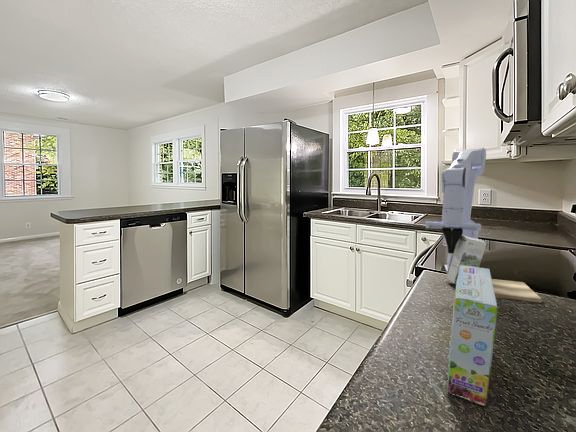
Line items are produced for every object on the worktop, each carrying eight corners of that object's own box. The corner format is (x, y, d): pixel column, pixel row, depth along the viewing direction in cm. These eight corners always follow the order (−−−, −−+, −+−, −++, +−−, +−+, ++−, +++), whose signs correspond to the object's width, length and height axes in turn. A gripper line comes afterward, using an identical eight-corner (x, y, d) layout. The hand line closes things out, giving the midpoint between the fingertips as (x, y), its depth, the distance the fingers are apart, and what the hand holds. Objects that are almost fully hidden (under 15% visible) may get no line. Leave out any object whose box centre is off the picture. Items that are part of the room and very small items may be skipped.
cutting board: (469, 279, 94) (469, 276, 94) (523, 285, 88) (523, 282, 88) (478, 295, 81) (478, 291, 81) (541, 302, 76) (542, 299, 76)
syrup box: (463, 282, 92) (476, 237, 90) (473, 288, 86) (487, 241, 84) (445, 278, 92) (457, 233, 90) (453, 284, 86) (467, 237, 84)
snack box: (491, 411, 40) (500, 306, 38) (445, 395, 43) (451, 297, 41) (485, 340, 58) (490, 266, 56) (452, 333, 61) (456, 262, 59)
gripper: (427, 208, 87) (425, 253, 88) (484, 210, 81) (481, 257, 83) (426, 207, 93) (424, 248, 95) (479, 208, 87) (476, 252, 89)
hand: (450, 252), depth 89 cm, fingers closed
